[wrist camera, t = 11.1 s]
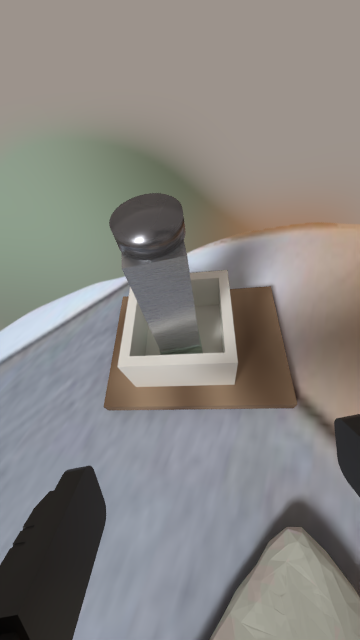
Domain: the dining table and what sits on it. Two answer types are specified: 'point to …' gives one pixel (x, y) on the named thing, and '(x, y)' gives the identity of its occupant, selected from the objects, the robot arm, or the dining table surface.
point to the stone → (292, 596)
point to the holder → (184, 369)
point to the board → (252, 370)
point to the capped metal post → (158, 269)
